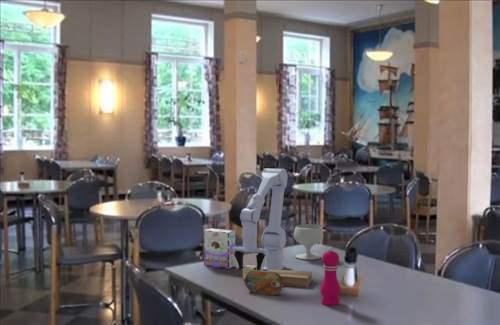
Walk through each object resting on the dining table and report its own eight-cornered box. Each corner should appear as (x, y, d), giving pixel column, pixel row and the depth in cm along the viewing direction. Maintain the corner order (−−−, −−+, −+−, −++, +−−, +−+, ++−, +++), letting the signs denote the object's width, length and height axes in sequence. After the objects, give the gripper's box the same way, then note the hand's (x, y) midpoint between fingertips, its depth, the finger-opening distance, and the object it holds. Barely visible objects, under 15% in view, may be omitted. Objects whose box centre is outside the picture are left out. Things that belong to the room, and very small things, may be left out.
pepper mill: (327, 307, 195) (328, 250, 194) (316, 301, 202) (316, 246, 200) (344, 304, 199) (345, 247, 197) (332, 298, 205) (333, 244, 204)
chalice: (328, 257, 271) (328, 226, 270) (311, 262, 261) (311, 230, 260) (304, 253, 280) (305, 222, 280) (287, 257, 270) (287, 226, 269)
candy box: (236, 266, 253) (236, 230, 252) (228, 269, 248) (228, 232, 247) (211, 263, 260) (210, 227, 259) (203, 265, 255) (203, 229, 254)
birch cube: (246, 276, 236) (246, 265, 236) (256, 277, 234) (256, 265, 234) (242, 279, 232) (242, 267, 231) (253, 280, 230) (253, 268, 230)
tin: (244, 291, 215) (244, 269, 214) (248, 289, 218) (248, 267, 217) (280, 296, 208) (280, 274, 208) (284, 294, 211) (284, 272, 210)
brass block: (268, 278, 235) (268, 268, 235) (311, 281, 230) (311, 271, 229) (262, 284, 225) (262, 274, 225) (307, 288, 220) (307, 278, 220)
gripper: (229, 238, 231) (229, 271, 231) (263, 240, 226) (263, 274, 226) (236, 235, 237) (236, 267, 238) (269, 237, 232) (269, 270, 233)
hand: (249, 270), depth 233 cm, fingers open, 7 cm apart
